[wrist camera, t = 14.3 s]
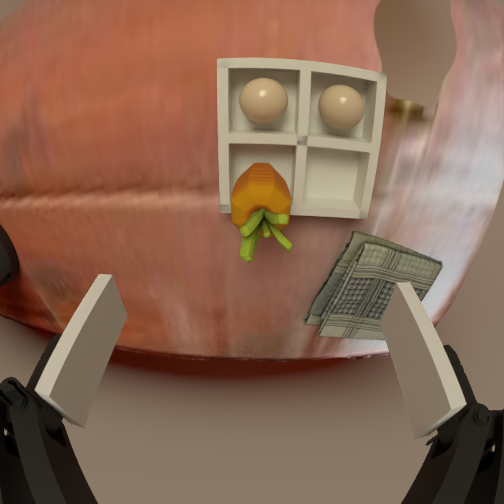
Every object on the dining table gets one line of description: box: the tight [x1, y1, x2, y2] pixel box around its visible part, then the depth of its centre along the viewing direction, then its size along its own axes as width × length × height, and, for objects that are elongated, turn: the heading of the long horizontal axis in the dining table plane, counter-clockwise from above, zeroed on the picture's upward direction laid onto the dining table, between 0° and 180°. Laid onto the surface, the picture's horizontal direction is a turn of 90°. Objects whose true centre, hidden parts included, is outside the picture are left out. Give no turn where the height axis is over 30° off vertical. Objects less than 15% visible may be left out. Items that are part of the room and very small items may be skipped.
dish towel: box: [303, 231, 443, 340], centre depth 39 cm, size 19×18×3 cm
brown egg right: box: [318, 85, 365, 129], centre depth 23 cm, size 5×5×5 cm
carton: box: [217, 58, 387, 219], centre depth 26 cm, size 16×16×4 cm
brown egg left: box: [239, 78, 288, 123], centre depth 23 cm, size 5×5×5 cm
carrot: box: [231, 163, 293, 262], centre depth 23 cm, size 5×5×15 cm
